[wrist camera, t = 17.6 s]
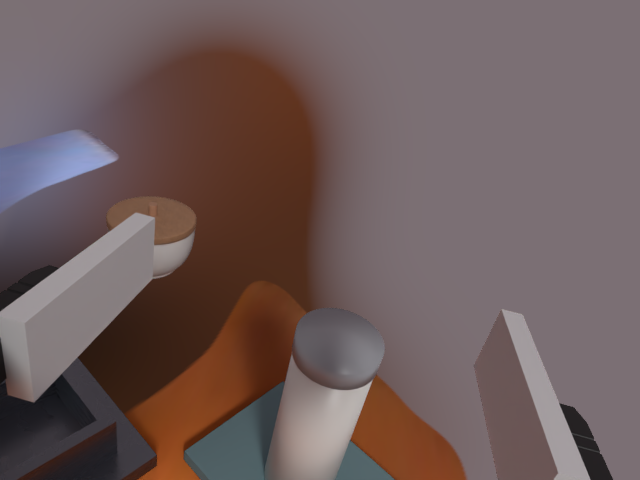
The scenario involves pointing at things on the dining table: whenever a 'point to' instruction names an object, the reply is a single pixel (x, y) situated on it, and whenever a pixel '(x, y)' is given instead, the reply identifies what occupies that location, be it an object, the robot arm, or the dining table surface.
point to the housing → (70, 434)
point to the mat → (261, 447)
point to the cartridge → (323, 394)
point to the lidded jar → (161, 229)
